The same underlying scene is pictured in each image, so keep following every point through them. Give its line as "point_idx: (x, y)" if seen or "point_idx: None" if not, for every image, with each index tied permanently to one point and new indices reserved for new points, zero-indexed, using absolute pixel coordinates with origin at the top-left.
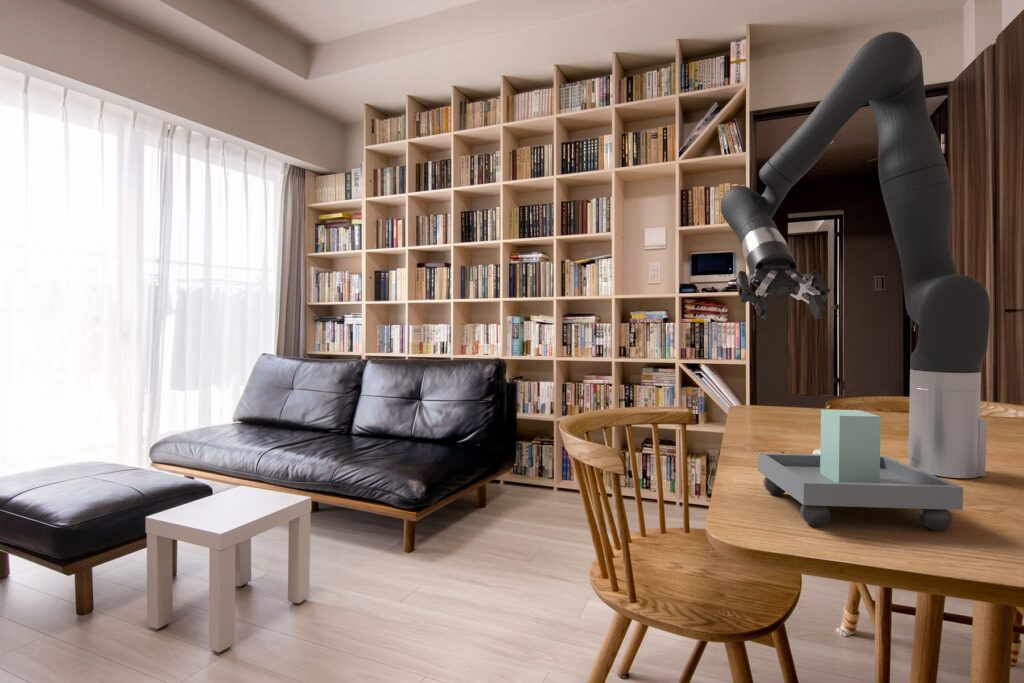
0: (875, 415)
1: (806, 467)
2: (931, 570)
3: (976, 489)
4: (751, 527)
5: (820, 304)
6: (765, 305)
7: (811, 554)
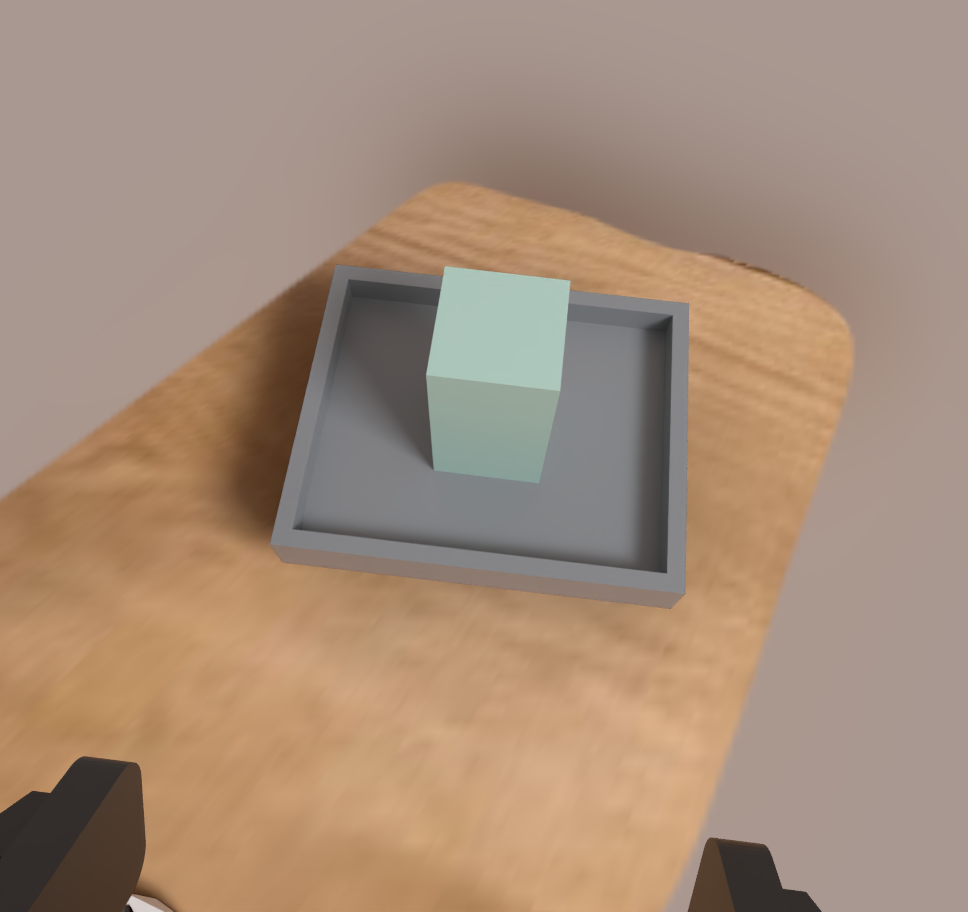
0: (449, 280)
1: (544, 544)
2: (535, 211)
3: None
4: (769, 376)
5: (39, 821)
6: (770, 905)
7: (702, 265)
